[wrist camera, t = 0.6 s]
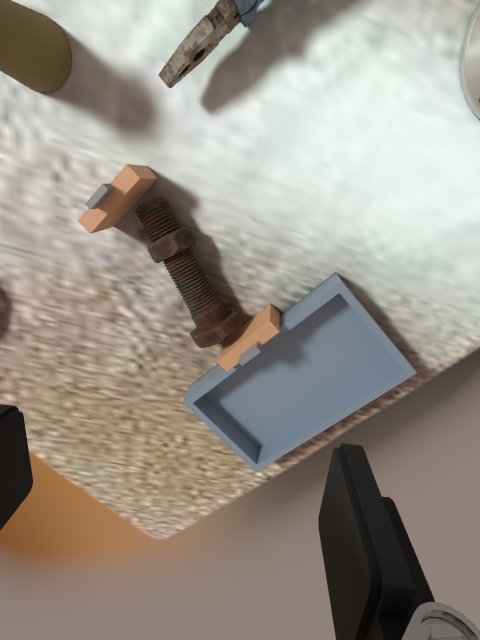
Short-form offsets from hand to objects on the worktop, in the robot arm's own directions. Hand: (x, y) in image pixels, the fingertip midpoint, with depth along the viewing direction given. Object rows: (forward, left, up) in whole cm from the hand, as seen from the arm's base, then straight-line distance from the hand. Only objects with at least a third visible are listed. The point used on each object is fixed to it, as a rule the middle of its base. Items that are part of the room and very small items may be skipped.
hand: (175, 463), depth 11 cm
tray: (+5, +13, -29) cm, 32 cm away
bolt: (+5, -3, -29) cm, 30 cm away
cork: (+2, -26, -29) cm, 39 cm away
